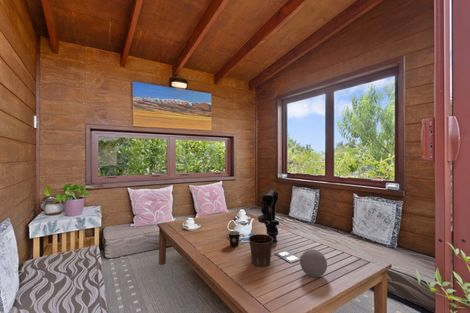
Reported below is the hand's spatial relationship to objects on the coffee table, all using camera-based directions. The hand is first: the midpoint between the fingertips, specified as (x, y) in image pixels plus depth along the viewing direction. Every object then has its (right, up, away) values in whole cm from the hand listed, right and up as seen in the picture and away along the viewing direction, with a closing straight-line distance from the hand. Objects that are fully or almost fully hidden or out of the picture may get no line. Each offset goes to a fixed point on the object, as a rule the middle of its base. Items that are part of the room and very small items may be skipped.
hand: (268, 231), depth 173 cm
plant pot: (-8, -14, -21) cm, 27 cm away
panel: (+12, -13, -14) cm, 22 cm away
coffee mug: (-25, -13, +7) cm, 29 cm away
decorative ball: (+21, -13, -38) cm, 46 cm away
